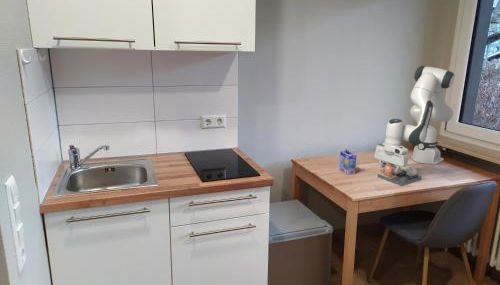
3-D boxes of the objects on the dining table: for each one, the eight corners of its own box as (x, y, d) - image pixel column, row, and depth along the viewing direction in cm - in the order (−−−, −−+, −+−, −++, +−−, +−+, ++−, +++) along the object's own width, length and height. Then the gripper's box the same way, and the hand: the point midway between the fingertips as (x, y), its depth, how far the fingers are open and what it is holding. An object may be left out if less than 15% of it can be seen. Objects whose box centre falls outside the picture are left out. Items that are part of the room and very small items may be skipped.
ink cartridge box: (338, 169, 230) (340, 147, 226) (345, 168, 232) (348, 147, 228) (347, 175, 221) (349, 152, 217) (355, 174, 223) (357, 151, 219)
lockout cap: (387, 173, 219) (388, 162, 217) (393, 175, 215) (395, 164, 213) (382, 174, 216) (383, 163, 214) (389, 177, 213) (390, 166, 211)
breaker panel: (397, 171, 229) (397, 166, 228) (421, 179, 217) (421, 174, 216) (377, 177, 219) (378, 172, 218) (401, 185, 206) (401, 180, 205)
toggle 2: (409, 173, 219) (410, 166, 218) (416, 175, 216) (417, 168, 215) (405, 174, 217) (407, 167, 216) (412, 176, 214) (413, 169, 213)
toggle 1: (394, 171, 222) (395, 164, 221) (400, 173, 219) (401, 166, 218) (390, 172, 220) (391, 165, 219) (396, 174, 217) (397, 167, 216)
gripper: (373, 143, 218) (371, 165, 221) (404, 152, 201) (400, 175, 205) (380, 142, 221) (377, 163, 225) (411, 150, 205) (407, 173, 208)
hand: (389, 169), depth 215 cm, fingers open, 8 cm apart
